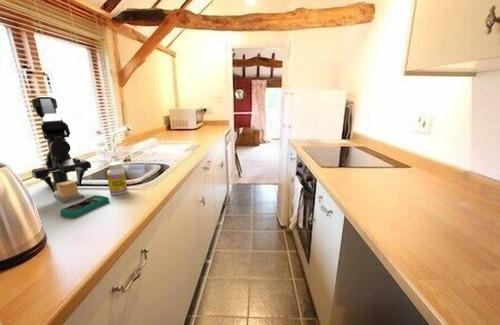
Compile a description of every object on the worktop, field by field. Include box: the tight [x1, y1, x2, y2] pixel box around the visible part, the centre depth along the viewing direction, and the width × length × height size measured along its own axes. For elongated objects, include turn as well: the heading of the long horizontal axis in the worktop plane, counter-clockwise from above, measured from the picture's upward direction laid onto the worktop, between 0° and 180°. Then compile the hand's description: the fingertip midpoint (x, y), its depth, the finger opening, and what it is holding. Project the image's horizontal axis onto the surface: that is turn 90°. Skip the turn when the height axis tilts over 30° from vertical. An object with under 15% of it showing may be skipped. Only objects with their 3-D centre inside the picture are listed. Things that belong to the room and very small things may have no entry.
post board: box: [53, 191, 85, 204], centre depth 105 cm, size 12×7×4 cm, turn 52°
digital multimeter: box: [59, 195, 110, 219], centre depth 93 cm, size 7×15×3 cm, turn 162°
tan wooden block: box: [55, 179, 80, 198], centre depth 104 cm, size 6×6×5 cm
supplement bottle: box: [106, 161, 128, 196], centre depth 107 cm, size 7×7×13 cm
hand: (67, 188), depth 104 cm, fingers open, 9 cm apart
